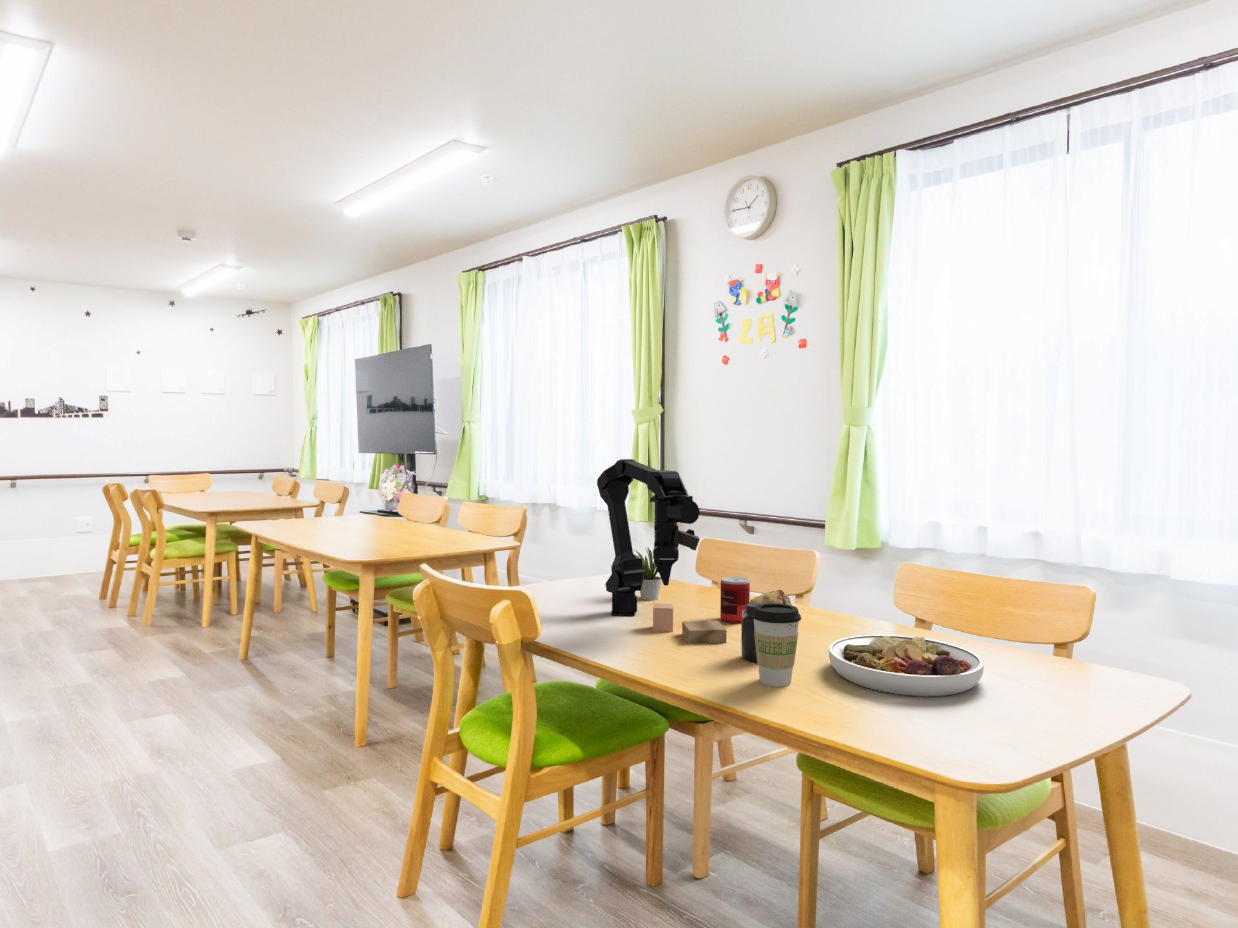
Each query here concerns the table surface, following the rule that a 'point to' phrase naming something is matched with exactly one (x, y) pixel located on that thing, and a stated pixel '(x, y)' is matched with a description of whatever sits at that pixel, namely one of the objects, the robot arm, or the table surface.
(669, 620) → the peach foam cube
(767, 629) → the coffee cup
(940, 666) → the bowl
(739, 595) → the canned food
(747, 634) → the supplement bottle
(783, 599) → the pastry
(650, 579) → the house plant
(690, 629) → the walnut box
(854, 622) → the table surface
